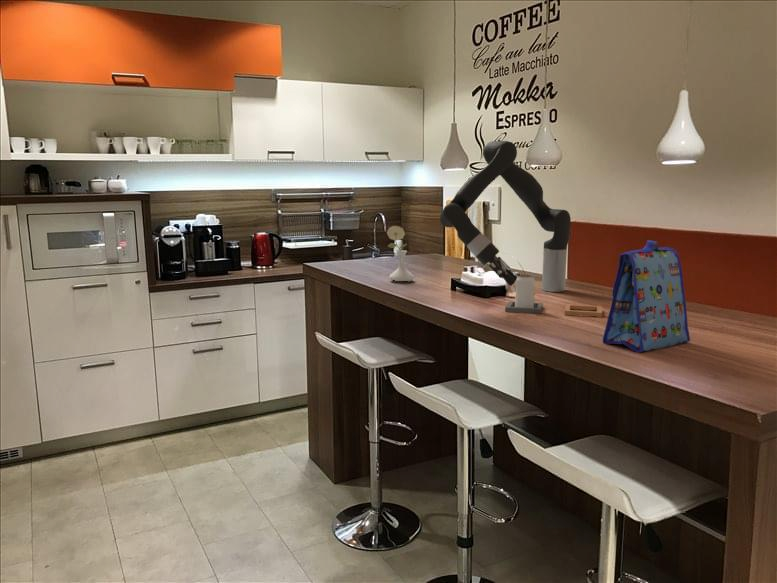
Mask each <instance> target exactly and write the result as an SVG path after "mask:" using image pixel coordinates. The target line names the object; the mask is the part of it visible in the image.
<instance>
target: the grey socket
mask: <svg viewBox="0 0 777 583" xmlns="http://www.w3.org/2000/svg"><path fill="white" fill-rule="evenodd" d="M535 307H537V308H535ZM543 308H544V303H543V302H534V308H522V307H515V300H513V301H512V300H509V301H508V302H507V303H506V306H505V308H504V311H505V312H507V313H510V312H511V313H520V312H523V313H524V314H526V313H527V314H538V313H541V314H542V310H543Z"/></svg>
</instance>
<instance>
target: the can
mask: <svg viewBox="0 0 777 583" xmlns="http://www.w3.org/2000/svg"><path fill="white" fill-rule="evenodd" d="M516 277H517V279H516V281H515V295H514V296H515V297H514V298H515V299H514V301H515V306H514V307H522V308H535V307H534V303H535V289H536V288H535V283H536V281H535V278H534V277H535V276H534V275H531V274H518V275H517V276H516Z"/></svg>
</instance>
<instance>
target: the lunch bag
mask: <svg viewBox="0 0 777 583" xmlns="http://www.w3.org/2000/svg"><path fill="white" fill-rule="evenodd" d="M658 246H659V243H658V241H654V240H649V239H648V240H647V241H646V244H645V246H644V247H643V248H642V249H641V248H640V249H636V250H634V249H633V250H629V251H626V252H624V253H621V254H620V255H619V259H618V267H617V270H616V271H617V273H616V275H615V276H616V277H615V280H614V283H613V288H612V293H611V294H612V300H611V305H610V308H609V312H608V317H607V321H606V325H605V329H604V332H603V336H602V343H603V344H605V345H610V344H611V345H612V344H613V345H615V344H617V345H624V346H627V347H628V348H629V349H631V350H633V351H635V352H636V353H643V352H648V351H652V350H658V349H662V348H667V347H672V346H675V345H680V344H683V343H684V344H685V343H688V342H690V340H691V336H690V331H689V326H688V325H689V324H688V312H687V304H686V294H685V287H684V277H683V275H684V274H683V268H682V263H681V260H680V256H679V253H678V251H677V250H675V248H672V247H669V246H663V247H658Z"/></svg>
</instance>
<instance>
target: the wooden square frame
mask: <svg viewBox="0 0 777 583" xmlns="http://www.w3.org/2000/svg"><path fill="white" fill-rule="evenodd" d="M571 309H582V310H571ZM589 310H597V311H589ZM572 315H582V316H581V317H589V316H597V317H596V318H603V308H602V305H588V304H587V305H584V304H568V303H567V304H566V303H565V307H564V316H572Z"/></svg>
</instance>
